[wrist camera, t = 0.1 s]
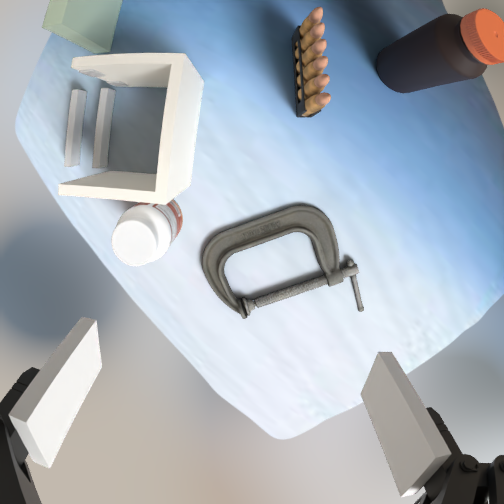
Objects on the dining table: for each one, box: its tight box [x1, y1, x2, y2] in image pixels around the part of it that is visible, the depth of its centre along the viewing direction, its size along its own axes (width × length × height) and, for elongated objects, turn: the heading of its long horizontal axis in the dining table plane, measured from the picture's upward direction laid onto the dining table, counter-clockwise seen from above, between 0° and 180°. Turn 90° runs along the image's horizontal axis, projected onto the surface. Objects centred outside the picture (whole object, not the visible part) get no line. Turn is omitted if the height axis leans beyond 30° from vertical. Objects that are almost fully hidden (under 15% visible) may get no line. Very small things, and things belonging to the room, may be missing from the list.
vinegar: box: [376, 8, 504, 93], centre depth 24 cm, size 7×7×20 cm
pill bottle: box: [111, 199, 183, 266], centre depth 35 cm, size 6×6×11 cm
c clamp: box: [202, 205, 364, 319], centre depth 42 cm, size 20×17×3 cm
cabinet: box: [58, 53, 204, 205], centre depth 30 cm, size 13×17×13 cm
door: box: [42, 0, 123, 53], centre depth 24 cm, size 11×4×13 cm, turn 172°
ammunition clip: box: [292, 7, 331, 117], centre depth 29 cm, size 11×2×12 cm, turn 3°
